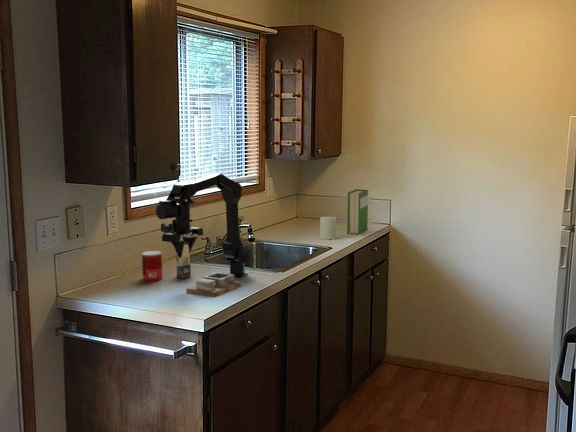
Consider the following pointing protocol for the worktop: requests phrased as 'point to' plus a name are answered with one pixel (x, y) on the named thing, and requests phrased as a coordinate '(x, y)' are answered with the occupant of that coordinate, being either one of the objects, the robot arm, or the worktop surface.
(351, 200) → the hardback book
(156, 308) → the worktop surface
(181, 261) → the cylinder
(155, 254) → the canned food
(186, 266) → the supplement bottle
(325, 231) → the can
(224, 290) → the jig
